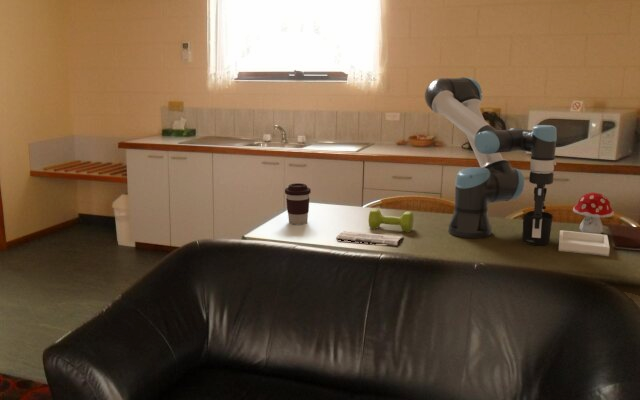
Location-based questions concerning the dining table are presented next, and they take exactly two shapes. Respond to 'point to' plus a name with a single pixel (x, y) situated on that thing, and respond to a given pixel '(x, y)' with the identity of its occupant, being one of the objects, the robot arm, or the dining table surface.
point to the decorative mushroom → (593, 212)
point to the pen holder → (544, 229)
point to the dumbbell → (391, 220)
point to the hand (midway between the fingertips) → (537, 232)
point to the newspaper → (369, 238)
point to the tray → (584, 243)
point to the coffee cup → (297, 203)
